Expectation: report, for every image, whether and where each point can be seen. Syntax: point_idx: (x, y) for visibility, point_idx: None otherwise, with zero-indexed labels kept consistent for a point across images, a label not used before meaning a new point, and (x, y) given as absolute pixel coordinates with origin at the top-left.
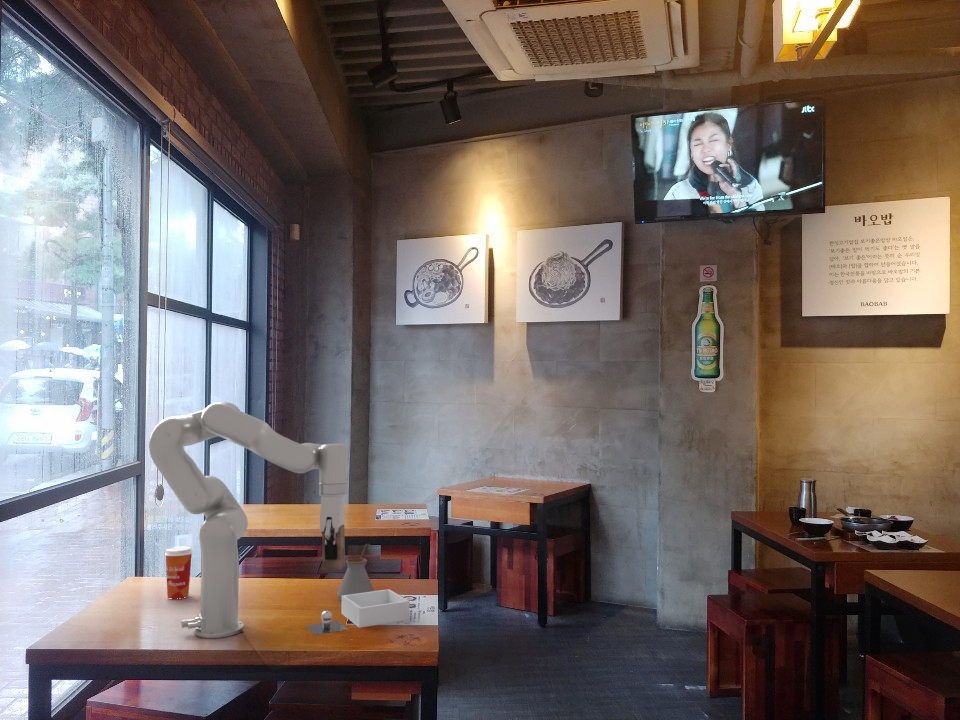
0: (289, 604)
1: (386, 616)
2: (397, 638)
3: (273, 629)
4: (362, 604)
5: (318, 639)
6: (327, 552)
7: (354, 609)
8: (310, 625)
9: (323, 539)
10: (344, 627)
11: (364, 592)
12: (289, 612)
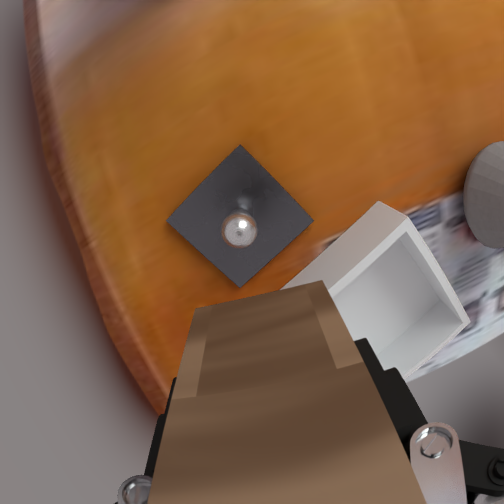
0: (440, 14)
1: None
2: None
3: (212, 54)
4: (418, 260)
5: (168, 229)
6: (155, 435)
7: None
8: (244, 162)
9: (157, 502)
10: (254, 271)
11: (486, 238)
12: (381, 31)
